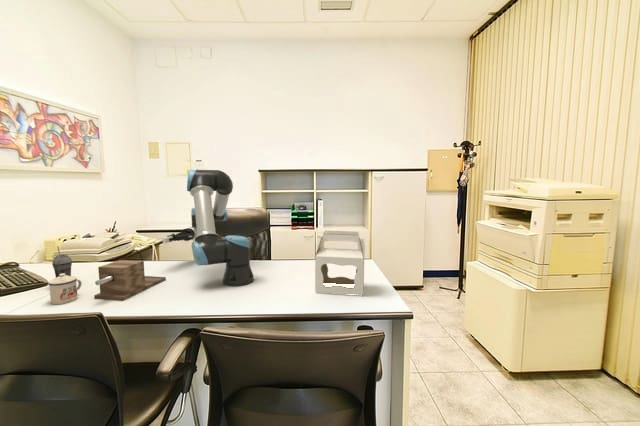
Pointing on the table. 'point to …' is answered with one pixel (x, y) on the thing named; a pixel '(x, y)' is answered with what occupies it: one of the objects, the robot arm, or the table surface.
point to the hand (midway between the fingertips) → (163, 240)
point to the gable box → (339, 263)
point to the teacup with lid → (64, 289)
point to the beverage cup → (62, 264)
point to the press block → (125, 280)
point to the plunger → (104, 280)
